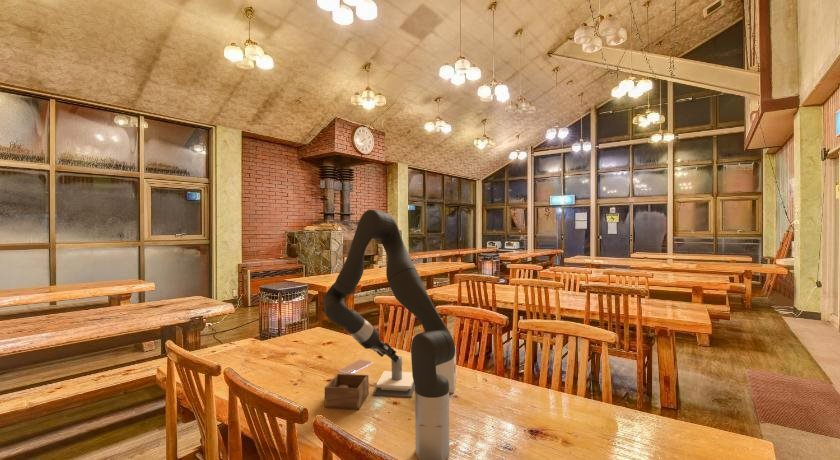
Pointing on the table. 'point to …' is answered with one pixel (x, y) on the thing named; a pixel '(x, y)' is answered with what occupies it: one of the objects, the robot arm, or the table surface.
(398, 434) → the table surface
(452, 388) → the supplement box
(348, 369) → the mobile phone
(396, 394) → the rubber mat
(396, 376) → the lid
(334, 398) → the walnut box
